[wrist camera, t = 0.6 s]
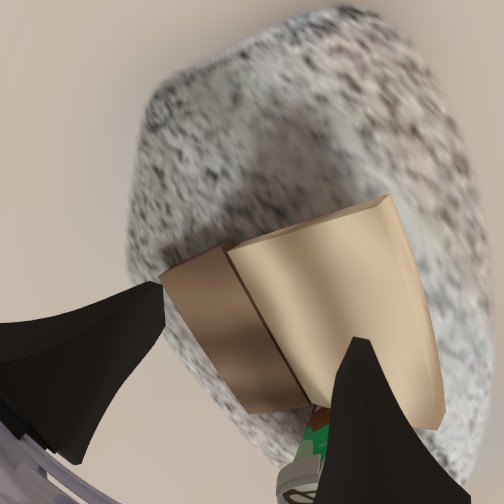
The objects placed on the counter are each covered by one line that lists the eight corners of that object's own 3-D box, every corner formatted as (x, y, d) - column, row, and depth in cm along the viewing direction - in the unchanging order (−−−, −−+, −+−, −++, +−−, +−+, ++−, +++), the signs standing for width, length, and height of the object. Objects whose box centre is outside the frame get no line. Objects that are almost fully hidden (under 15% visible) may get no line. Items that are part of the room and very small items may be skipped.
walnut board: (313, 392, 23) (310, 406, 21) (254, 401, 26) (248, 414, 24) (230, 239, 21) (219, 246, 19) (170, 268, 23) (158, 276, 22)
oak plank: (322, 390, 22) (311, 403, 21) (243, 241, 20) (227, 252, 19) (445, 411, 13) (437, 430, 12) (390, 193, 11) (376, 206, 10)
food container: (275, 393, 24) (236, 483, 15) (335, 374, 22) (313, 479, 13) (334, 457, 25) (315, 531, 17) (385, 444, 23) (377, 526, 14)
